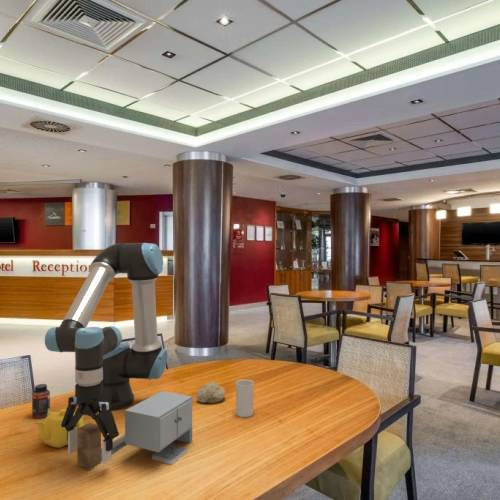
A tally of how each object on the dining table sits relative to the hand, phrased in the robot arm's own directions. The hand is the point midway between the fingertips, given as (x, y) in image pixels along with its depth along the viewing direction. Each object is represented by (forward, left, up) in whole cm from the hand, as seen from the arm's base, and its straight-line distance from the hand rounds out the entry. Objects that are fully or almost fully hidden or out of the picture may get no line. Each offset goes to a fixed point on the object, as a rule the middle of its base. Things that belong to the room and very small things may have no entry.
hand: (89, 456), depth 120 cm
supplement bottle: (-43, +19, -3) cm, 47 cm away
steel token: (+18, +14, -3) cm, 23 cm away
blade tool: (0, +9, -2) cm, 9 cm away
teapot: (-19, +7, -3) cm, 20 cm away
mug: (+24, +53, -3) cm, 58 cm away
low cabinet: (+13, +16, -2) cm, 21 cm away
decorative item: (+7, +59, -3) cm, 60 cm away
